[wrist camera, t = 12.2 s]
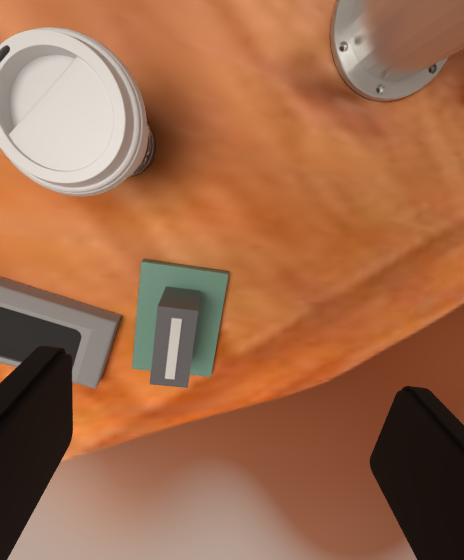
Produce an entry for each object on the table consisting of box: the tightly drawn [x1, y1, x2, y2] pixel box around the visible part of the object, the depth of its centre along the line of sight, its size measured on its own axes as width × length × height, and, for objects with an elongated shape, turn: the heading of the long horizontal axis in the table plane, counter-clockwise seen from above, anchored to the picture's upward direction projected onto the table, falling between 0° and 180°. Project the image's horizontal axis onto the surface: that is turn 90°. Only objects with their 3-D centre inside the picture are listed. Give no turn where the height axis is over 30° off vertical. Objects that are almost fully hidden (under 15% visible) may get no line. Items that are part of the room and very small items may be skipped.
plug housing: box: [150, 286, 200, 388], centre depth 34 cm, size 9×4×6 cm, turn 171°
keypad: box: [0, 277, 122, 388], centre depth 36 cm, size 10×4×15 cm
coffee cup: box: [0, 27, 156, 196], centre depth 25 cm, size 10×10×15 cm
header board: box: [132, 259, 229, 377], centre depth 36 cm, size 14×10×5 cm
